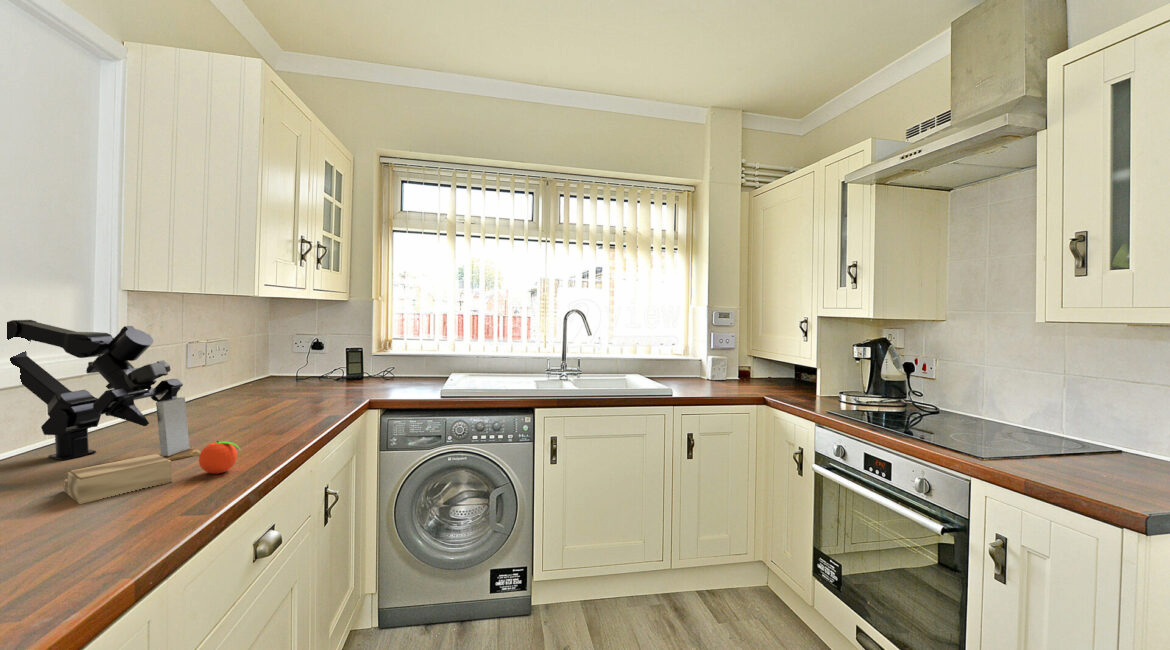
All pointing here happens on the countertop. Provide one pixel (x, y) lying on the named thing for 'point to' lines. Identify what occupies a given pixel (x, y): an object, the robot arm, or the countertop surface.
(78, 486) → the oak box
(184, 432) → the cover plate
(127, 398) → the robot arm
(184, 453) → the shard
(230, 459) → the clementine
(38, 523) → the countertop surface
